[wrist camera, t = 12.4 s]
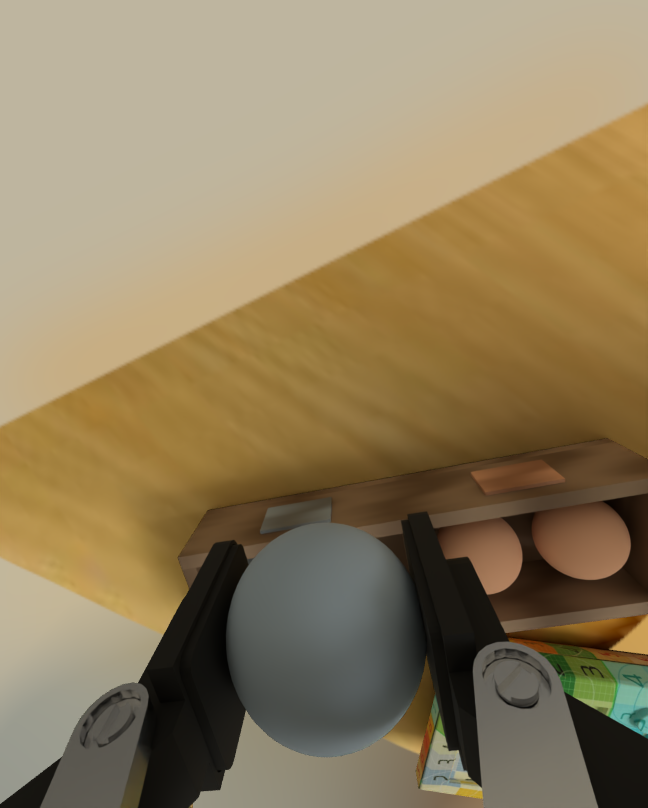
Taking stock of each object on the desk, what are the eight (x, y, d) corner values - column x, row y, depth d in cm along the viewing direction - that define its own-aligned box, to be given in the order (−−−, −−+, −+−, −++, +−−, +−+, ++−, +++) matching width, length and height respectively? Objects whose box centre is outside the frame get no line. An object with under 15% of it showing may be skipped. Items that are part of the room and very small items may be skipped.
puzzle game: (719, 846, 25) (421, 805, 26) (662, 763, 30) (409, 729, 30) (797, 717, 22) (456, 672, 23) (720, 646, 27) (437, 610, 27)
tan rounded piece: (593, 472, 23) (654, 514, 18) (596, 538, 24) (653, 592, 19) (514, 486, 23) (555, 530, 19) (521, 549, 24) (560, 605, 20)
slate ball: (396, 477, 10) (434, 610, 6) (418, 613, 12) (465, 809, 7) (235, 503, 11) (160, 644, 6) (272, 631, 12) (230, 825, 8)
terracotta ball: (499, 488, 23) (534, 533, 19) (506, 551, 24) (541, 608, 20) (423, 501, 24) (440, 547, 19) (434, 562, 25) (453, 619, 21)
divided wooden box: (607, 435, 23) (675, 470, 18) (611, 552, 25) (673, 610, 20) (206, 507, 25) (176, 554, 21) (240, 608, 27) (220, 671, 23)
